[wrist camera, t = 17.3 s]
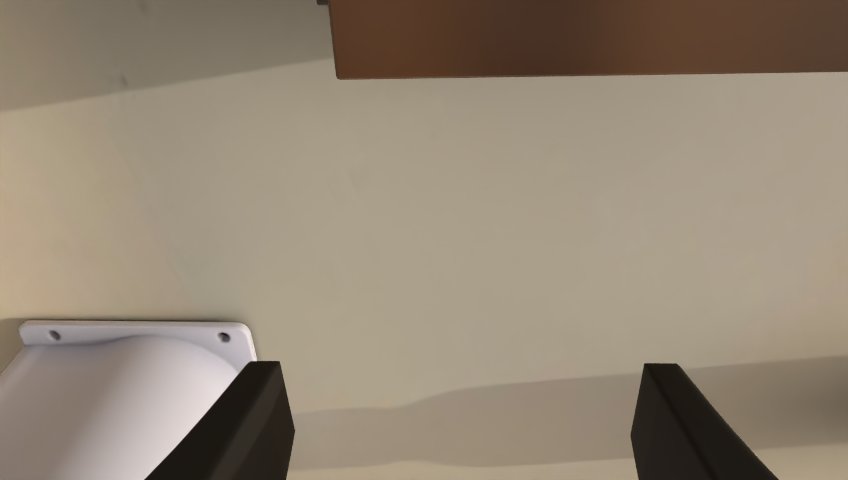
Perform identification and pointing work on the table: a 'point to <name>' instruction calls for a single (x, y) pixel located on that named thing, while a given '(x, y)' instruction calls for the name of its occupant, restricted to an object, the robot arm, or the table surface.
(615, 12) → the cabinet
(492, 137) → the table surface
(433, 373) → the table surface
